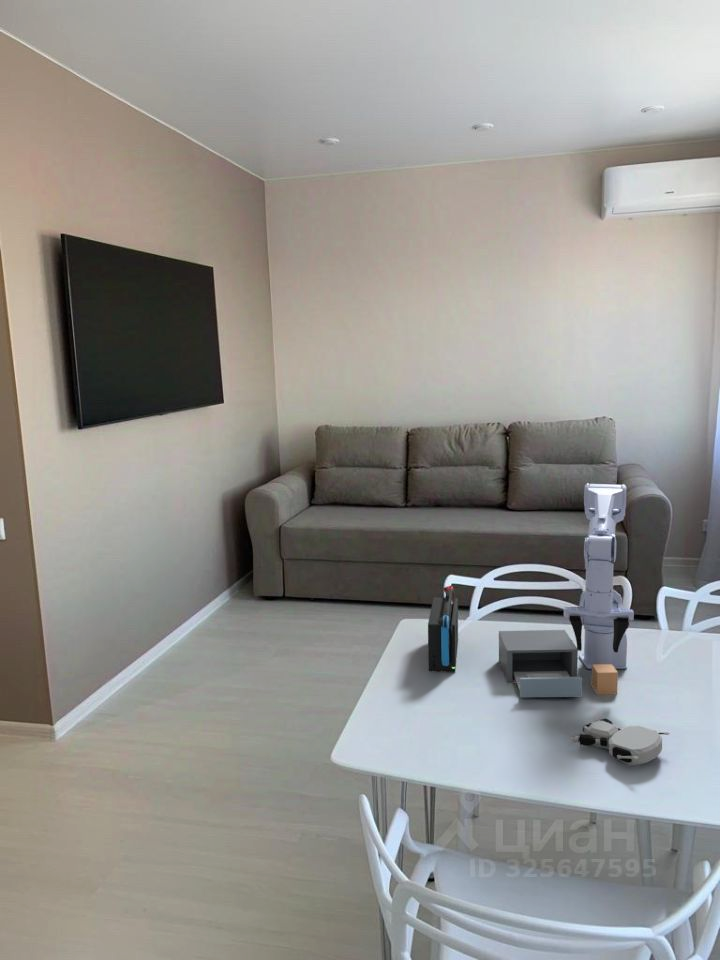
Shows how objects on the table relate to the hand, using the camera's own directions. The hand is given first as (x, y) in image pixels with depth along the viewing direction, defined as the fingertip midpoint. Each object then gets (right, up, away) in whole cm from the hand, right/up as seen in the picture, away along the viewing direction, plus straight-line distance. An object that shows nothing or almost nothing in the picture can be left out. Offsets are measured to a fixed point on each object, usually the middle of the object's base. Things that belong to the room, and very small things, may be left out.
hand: (597, 650), depth 163 cm
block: (+2, -9, +3) cm, 10 cm away
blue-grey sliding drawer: (-11, -9, +4) cm, 14 cm away
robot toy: (-3, -14, -23) cm, 27 cm away
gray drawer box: (-10, -8, +13) cm, 18 cm away
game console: (-31, -7, +24) cm, 40 cm away
